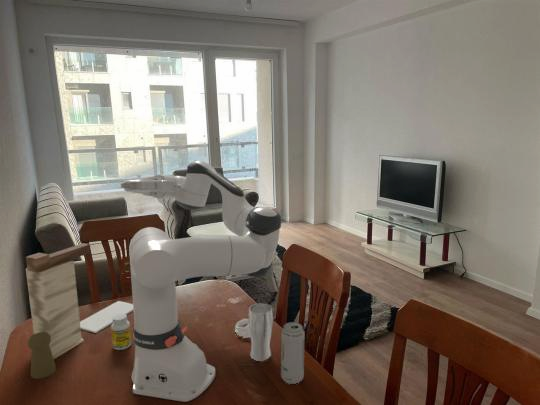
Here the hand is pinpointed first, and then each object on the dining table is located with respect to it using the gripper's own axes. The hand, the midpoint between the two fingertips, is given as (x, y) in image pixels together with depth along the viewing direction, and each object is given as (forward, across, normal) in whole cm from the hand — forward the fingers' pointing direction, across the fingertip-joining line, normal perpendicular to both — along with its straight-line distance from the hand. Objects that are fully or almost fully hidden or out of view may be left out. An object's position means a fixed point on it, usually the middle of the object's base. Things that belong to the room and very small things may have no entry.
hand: (131, 185), depth 129 cm
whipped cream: (-15, -36, -48) cm, 62 cm away
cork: (+29, +1, -52) cm, 59 cm away
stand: (+20, +9, -49) cm, 54 cm away
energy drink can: (-3, -59, -52) cm, 79 cm away
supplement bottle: (+10, -7, -49) cm, 51 cm away
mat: (0, +12, -46) cm, 47 cm away
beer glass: (-7, -47, -50) cm, 69 cm away
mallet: (+20, +7, -23) cm, 31 cm away
